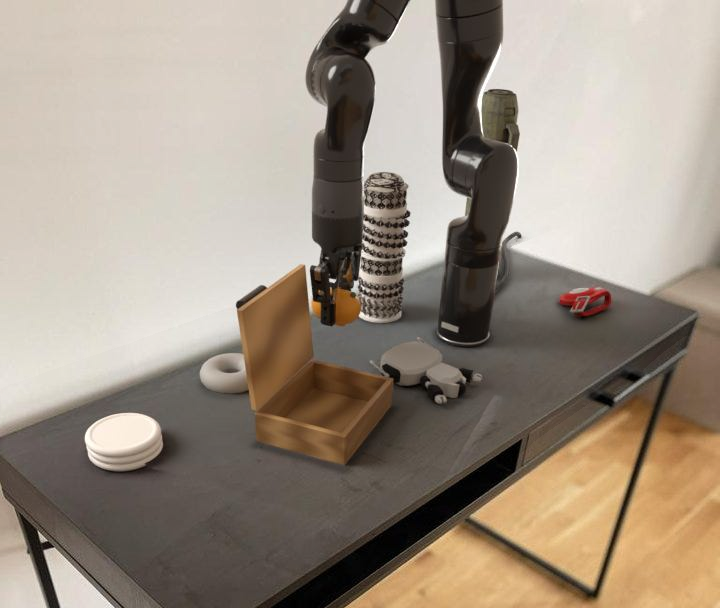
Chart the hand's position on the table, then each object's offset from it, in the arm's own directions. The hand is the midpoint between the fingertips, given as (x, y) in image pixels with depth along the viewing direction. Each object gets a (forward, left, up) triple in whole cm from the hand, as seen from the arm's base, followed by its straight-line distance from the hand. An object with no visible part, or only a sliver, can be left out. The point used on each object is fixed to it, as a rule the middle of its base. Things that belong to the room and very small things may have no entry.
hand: (336, 317), depth 119 cm
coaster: (+34, -16, -10) cm, 39 cm away
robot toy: (-2, +15, -10) cm, 18 cm away
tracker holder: (-44, +32, -10) cm, 55 cm away
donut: (+11, -13, -10) cm, 20 cm away
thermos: (-52, +9, -10) cm, 54 cm away
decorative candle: (-24, -2, -10) cm, 26 cm away
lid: (+16, -1, +3) cm, 16 cm away
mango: (0, 0, -1) cm, 1 cm away
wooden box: (+16, +6, -10) cm, 19 cm away
